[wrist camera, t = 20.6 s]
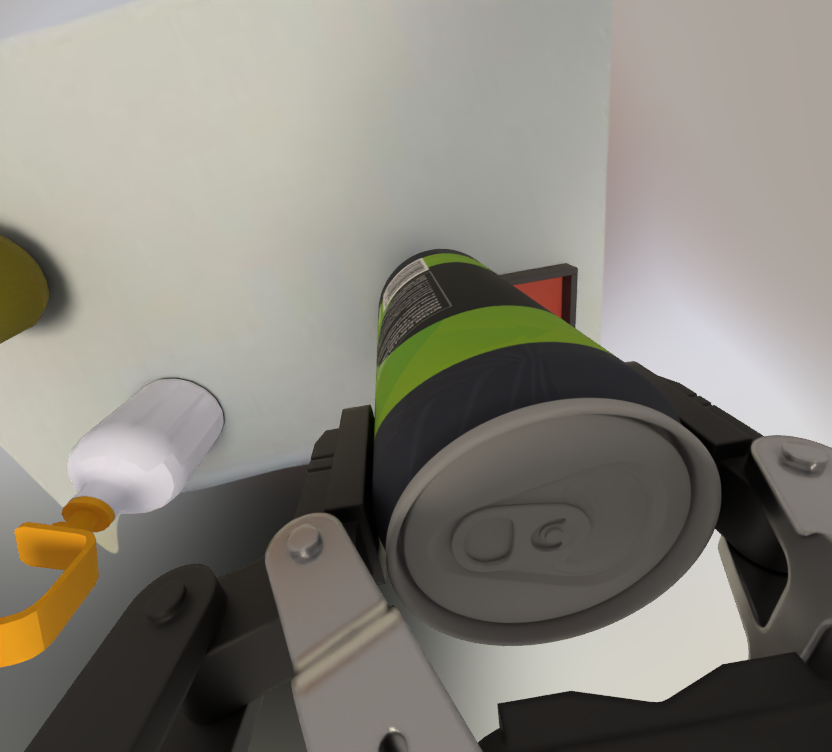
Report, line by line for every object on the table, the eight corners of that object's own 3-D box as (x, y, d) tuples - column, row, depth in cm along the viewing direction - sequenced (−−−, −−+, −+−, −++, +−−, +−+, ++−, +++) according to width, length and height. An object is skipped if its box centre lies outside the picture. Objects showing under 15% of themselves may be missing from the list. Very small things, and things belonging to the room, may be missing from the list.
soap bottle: (138, 367, 38) (-192, 601, 16) (229, 388, 40) (41, 623, 18) (138, 435, 42) (-131, 700, 20) (222, 451, 44) (58, 709, 22)
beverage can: (385, 365, 21) (388, 671, 7) (372, 251, 18) (341, 412, 5) (492, 355, 21) (682, 634, 8) (496, 242, 18) (804, 368, 5)
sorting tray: (566, 263, 37) (580, 268, 34) (562, 383, 43) (574, 396, 40) (380, 296, 37) (380, 304, 34) (404, 411, 43) (405, 426, 40)
